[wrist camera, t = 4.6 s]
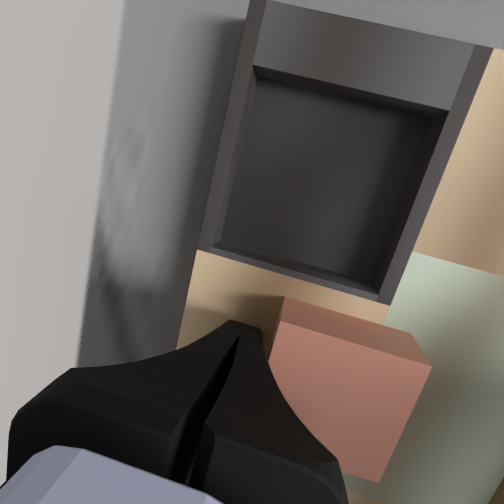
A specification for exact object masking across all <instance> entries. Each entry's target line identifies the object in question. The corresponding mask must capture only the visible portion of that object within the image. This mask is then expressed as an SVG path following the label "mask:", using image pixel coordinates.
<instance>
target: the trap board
mask: <svg viewBox="0 0 504 504" xmlns="http://www.w3.org/2000/svg"><path fill="white" fill-rule="evenodd" d="M284 297H288V298H292V299H295V300H299V301H302V302H306V303H309V304H312V305H316V306H319V307H323V308H326V309H329V310H333V311H336V312H340V313H343V314H346V315H350V316H353V317H357V318H360V319H363V320H367V321H370V322H374V323H377V324H381V325H384V326H387V327H391V328H394V329H398V330H401V331H404V332H408V333H411V334H412V336H413V337H414V339H415V340H416V342H417V343H418V345H419V346H420V348H421V350H422V351H423V353H424V354H425V356H426V357H427V359H428V361H429V362H430V364H431V365H432V369H431V371H430V373H429V375H428V377H427V380H426V382H425V384H424V386H423V388H422V390H421V393H420V395H419V397H418V399H417V401H416V403H415V406H414V408H413V410H412V412H411V414H410V416H409V419H408V421H407V423H406V425H405V427H404V429H403V432H402V434H401V436H400V438H399V440H398V442H397V445H396V447H395V449H394V451H393V453H392V455H391V458H390V460H389V462H388V464H387V466H386V469H385V471H384V473H383V475H382V477H381V479H380V482H379V483H376V482H373V481H370V480H367V479H364V478H361V477H358V476H355V475H352V474H349V473H346V472H343V471H341V472H342V476H343V480H344V484H345V488H346V492H347V496H348V502H349V504H504V50H499V49H494V48H490V47H485V46H480V45H476V44H471V43H466V42H462V41H457V40H452V39H448V38H443V37H438V36H434V35H429V34H424V33H420V32H415V31H410V30H406V29H401V28H396V27H392V26H387V25H382V24H378V23H373V22H368V21H364V20H359V19H354V18H350V17H345V16H340V15H336V14H331V13H326V12H322V11H317V10H312V9H308V8H303V7H298V6H294V5H289V4H284V3H280V2H275V1H270V0H250V3H249V7H248V12H247V17H246V21H245V26H244V31H243V36H242V40H241V45H240V50H239V54H238V59H237V64H236V69H235V73H234V78H233V83H232V87H231V92H230V97H229V102H228V106H227V111H226V116H225V120H224V125H223V130H222V135H221V139H220V144H219V149H218V153H217V158H216V163H215V168H214V172H213V177H212V182H211V186H210V191H209V196H208V201H207V205H206V210H205V215H204V219H203V224H202V229H201V234H200V238H199V243H198V248H197V252H196V257H195V262H194V267H193V271H192V276H191V281H190V285H189V290H188V295H187V300H186V304H185V309H184V314H183V318H182V323H181V328H180V333H179V337H178V342H177V347H176V350H177V349H180V348H182V347H184V346H186V345H188V344H190V343H192V342H194V341H196V340H198V339H200V338H202V337H203V336H205V335H207V334H208V333H210V332H212V331H213V330H215V329H216V328H218V327H219V326H221V325H222V324H224V323H225V322H226V321H228V320H230V319H231V320H235V321H238V322H241V323H244V324H247V325H251V326H254V327H257V328H260V329H261V330H262V332H263V333H262V335H263V343H264V348H265V352H266V356H267V355H268V351H269V348H270V344H271V341H272V338H273V334H274V331H275V328H276V324H277V321H278V317H279V314H280V311H281V307H282V304H283V300H284ZM192 468H193V466H192ZM191 472H192V469H191ZM191 472H190V475H189V477H188V480H187V483H186V485H185V486H188V484H189V480H190V476H191Z"/></svg>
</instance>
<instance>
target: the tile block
mask: <svg viewBox="0 0 504 504" xmlns="http://www.w3.org/2000/svg"><path fill="white" fill-rule="evenodd" d="M267 359H268V362H269V365H270V368H271V371H272V373H273V376H274V378H275V380H276V382H277V385H278V387H279V389H280V390H281V392H282V394H283V396H284V398H285V399H286V401H287V402H288V404H289V405H290V407H291V408H292V410H293V411H294V413H295V414H296V415H297V416H298V418H299V419H300V420H301V422H302V423H303V424H304V425H305V426H306V427H307V429H308V430H309V431H310V432H311V433H312V434H313V435H314V436H315V438H316V439H318V440H319V441H320V442H321V443H322V444H323V445H324V446H325V447H326V448H327V449H328V450H329V451H330V452H331V453H332V454H333V455H334V456H335V457H336V458H337V459H338V461H339V465H340V468H341V471H343V472H346V473H349V474H352V475H355V476H358V477H361V478H364V479H367V480H370V481H373V482H376V483H379V482H380V479H381V477H382V475H383V473H384V471H385V469H386V466H387V464H388V462H389V460H390V458H391V455H392V453H393V451H394V449H395V447H396V445H397V442H398V440H399V438H400V436H401V434H402V432H403V429H404V427H405V425H406V423H407V421H408V419H409V416H410V414H411V412H412V410H413V408H414V406H415V403H416V401H417V399H418V397H419V395H420V393H421V390H422V388H423V386H424V384H425V382H426V380H427V377H428V375H429V373H430V371H431V369H432V365H431V364H430V362H429V361H428V359H427V357H426V356H425V354H424V353H423V351H422V350H421V348H420V346H419V345H418V343H417V342H416V340H415V339H414V337H413V336H412V334H411V333H408V332H404V331H401V330H398V329H394V328H391V327H387V326H384V325H381V324H377V323H374V322H370V321H367V320H363V319H360V318H357V317H353V316H350V315H346V314H343V313H340V312H336V311H333V310H329V309H326V308H323V307H319V306H316V305H312V304H309V303H306V302H302V301H299V300H295V299H292V298H288V297H284V300H283V304H282V307H281V311H280V314H279V317H278V321H277V324H276V328H275V331H274V334H273V338H272V341H271V344H270V348H269V351H268V355H267Z"/></svg>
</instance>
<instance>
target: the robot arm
mask: <svg viewBox="0 0 504 504" xmlns="http://www.w3.org/2000/svg"><path fill="white" fill-rule="evenodd" d="M262 333H263V332H262V330H261V329H260V328H257V327H254V326H251V325H247V324H244V323H241V322H238V321H235V320H231V319H230V320H228V321H226V322H225V323H224V324H222V325H221V326H219V327H218V328H216V329H215V330H213V331H212V332H210V333H208V334H207V335H205V336H203V337H202V338H200V339H198V340H196V341H194V342H192V343H190V344H188V345H186V346H184V347H182V348H180V349H177V350H175V351H172V352H169V353H166V354H163V355H160V356H156V357H152V358H149V359H145V360H141V361H136V362H131V363H125V364H118V365H111V366H100V367H84V368H70V369H69V370H68V371H66V372H65V373H64V374H62V375H61V376H59V377H58V378H57V379H55V380H54V381H53V382H52V383H50V384H49V385H48V386H47V387H46V388H44V389H43V390H42V391H41V392H40V393H38V394H37V395H36V396H35V397H34V398H32V399H31V400H30V401H29V402H28V403H26V404H25V405H24V406H23V407H22V408H20V410H18V412H17V413H16V415H15V417H14V418H13V420H12V422H11V426H10V431H9V441H8V459H7V478H6V481H5V482H4V483H3V484H2V485H1V487H0V504H349V502H348V496H347V492H346V488H345V484H344V480H343V476H342V472H341V468H340V465H339V461H338V459H337V458H336V457H335V456H334V455H333V454H332V453H331V452H330V451H329V450H328V449H327V448H326V447H325V446H324V445H323V444H322V443H321V442H320V441H319V440H318V439H316V438H315V436H314V435H313V434H312V433H311V432H310V431H309V430H308V429H307V427H306V426H305V425H304V424H303V423H302V422H301V420H300V419H299V418H298V416H297V415H296V414H295V413H294V411H293V410H292V408H291V407H290V405H289V404H288V402H287V401H286V399H285V398H284V396H283V394H282V392H281V390H280V389H279V387H278V385H277V382H276V380H275V378H274V376H273V373H272V371H271V368H270V365H269V362H268V359H267V356H266V352H265V348H264V343H263V335H262ZM192 466H193V468H192ZM191 469H192V472H191ZM190 472H191V476H190V480H189V484H188V486H185V485H186V483H187V480H188V477H189V475H190Z"/></svg>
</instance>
